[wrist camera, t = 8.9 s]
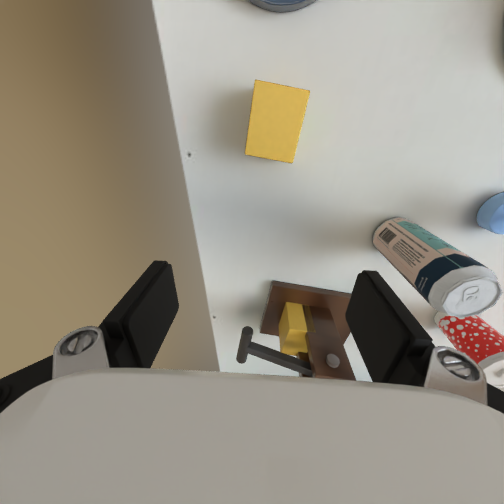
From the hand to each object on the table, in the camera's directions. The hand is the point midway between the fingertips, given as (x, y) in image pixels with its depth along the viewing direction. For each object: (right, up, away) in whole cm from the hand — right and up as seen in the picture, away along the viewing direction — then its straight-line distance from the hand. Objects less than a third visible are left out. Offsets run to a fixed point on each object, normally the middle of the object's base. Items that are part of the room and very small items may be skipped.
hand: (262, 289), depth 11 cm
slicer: (+9, -8, +23) cm, 26 cm away
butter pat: (+2, +15, +11) cm, 18 cm away
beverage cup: (+30, -8, +22) cm, 38 cm away
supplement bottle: (+17, +4, +16) cm, 24 cm away
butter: (+6, -8, +22) cm, 24 cm away
